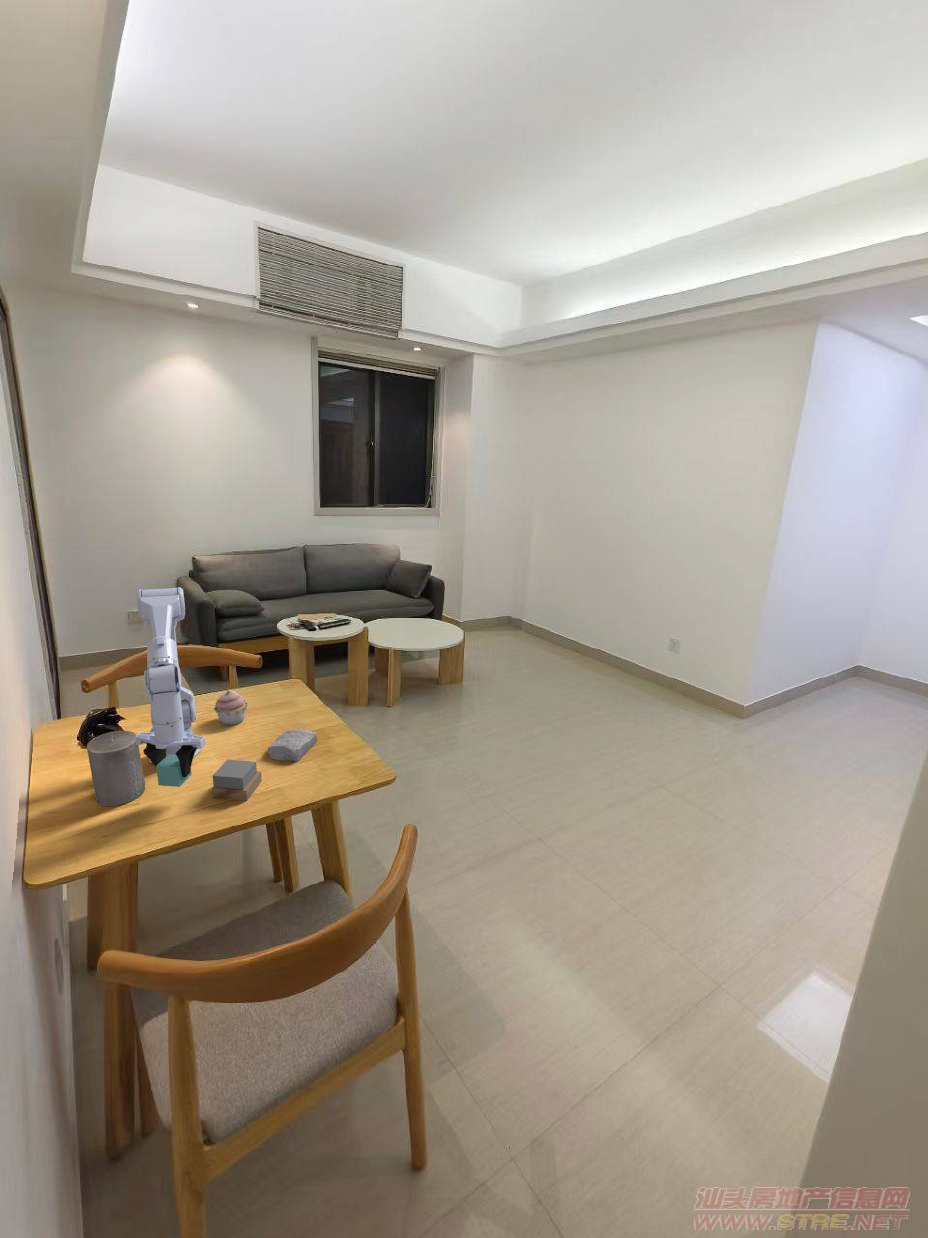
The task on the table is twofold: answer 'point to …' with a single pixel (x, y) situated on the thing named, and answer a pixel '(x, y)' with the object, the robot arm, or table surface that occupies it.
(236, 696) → the cupcake
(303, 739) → the stone block
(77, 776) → the table surface
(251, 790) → the walnut slab
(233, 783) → the grey block
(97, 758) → the pillar candle
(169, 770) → the teal cube
